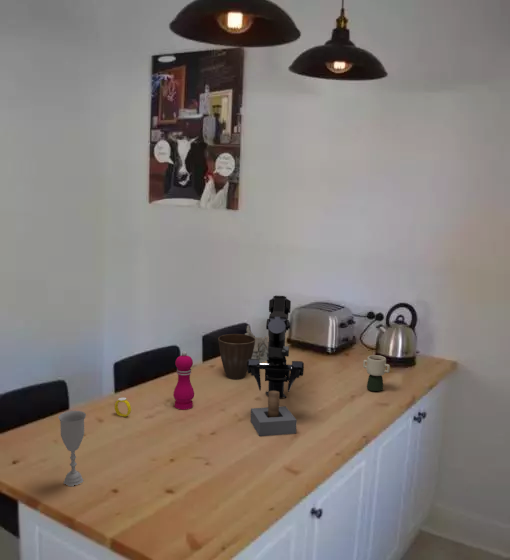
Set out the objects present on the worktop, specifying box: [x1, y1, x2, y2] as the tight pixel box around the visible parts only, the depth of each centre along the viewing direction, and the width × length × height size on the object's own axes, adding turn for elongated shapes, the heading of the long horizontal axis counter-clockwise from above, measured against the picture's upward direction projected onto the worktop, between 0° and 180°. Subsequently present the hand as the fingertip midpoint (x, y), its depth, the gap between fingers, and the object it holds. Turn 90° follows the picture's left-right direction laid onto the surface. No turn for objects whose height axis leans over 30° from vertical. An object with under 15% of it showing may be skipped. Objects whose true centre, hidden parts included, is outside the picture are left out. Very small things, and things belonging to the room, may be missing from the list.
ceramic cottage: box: [244, 325, 269, 363], centre depth 271 cm, size 16×16×15 cm
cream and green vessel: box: [362, 354, 391, 392], centre depth 235 cm, size 11×7×13 cm, turn 56°
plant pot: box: [217, 333, 255, 380], centre depth 246 cm, size 15×15×16 cm
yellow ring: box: [114, 397, 132, 418], centre depth 203 cm, size 6×3×6 cm, turn 62°
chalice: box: [58, 410, 87, 487], centre depth 157 cm, size 7×7×18 cm
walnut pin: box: [267, 391, 280, 418], centre depth 196 cm, size 4×4×11 cm
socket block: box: [250, 405, 298, 437], centre depth 197 cm, size 12×12×4 cm
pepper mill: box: [172, 350, 195, 411], centre depth 211 cm, size 7×7×20 cm
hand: (274, 390), depth 198 cm, fingers open, 9 cm apart
